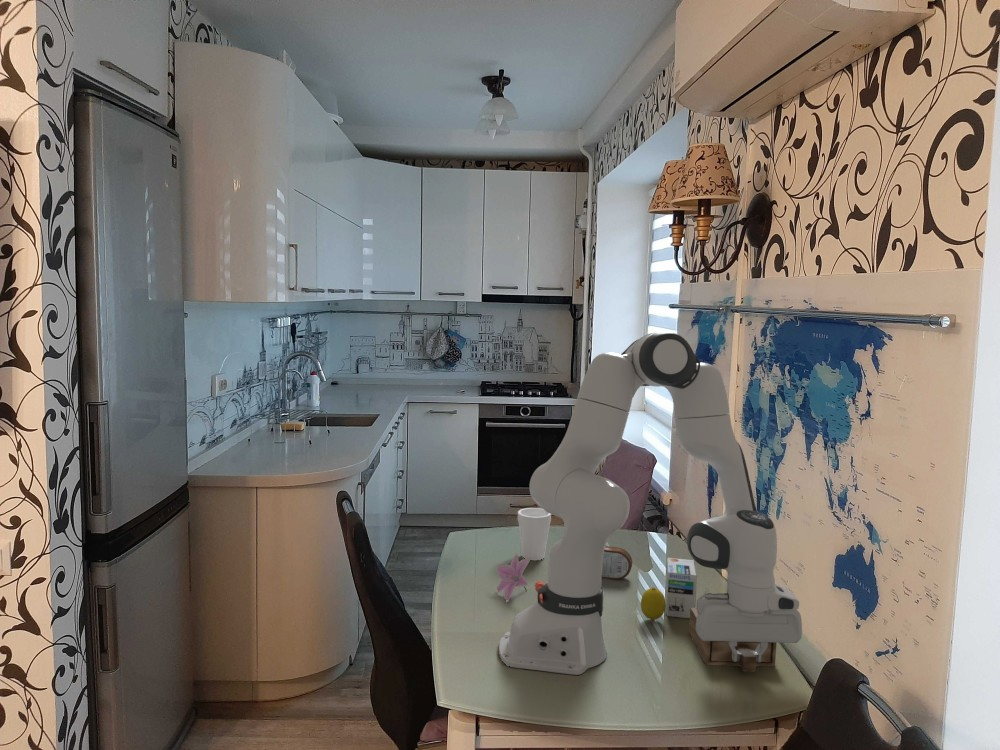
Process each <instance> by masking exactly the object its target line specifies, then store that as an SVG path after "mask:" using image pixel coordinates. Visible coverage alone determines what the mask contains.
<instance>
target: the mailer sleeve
mask: <svg viewBox="0 0 1000 750" xmlns="http://www.w3.org/2000/svg"><path fill="white" fill-rule="evenodd" d="M697 614H698V612H697V607H695V608H690V618H689V629H688V634H689V636H690V637H691V639H693V640H692V641H693V643H694V646H695V647H696V649H697V651H698V653H699V654H700V656H701V658H702V659H703V660H702V661H703V662H704V664H705V665H706V666H734V667H735V666H739V667H740V665H739V664H738V662H734V661H711V659H710V642H711V641H703V640H702V639H701V638H700V637H699V636H698V634H697V632H696V620H697ZM776 654H777V643H775V642H771V659H770V662H756V667H776V660H777V659H776Z"/></svg>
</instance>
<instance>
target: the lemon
mask: <svg viewBox="0 0 1000 750" xmlns="http://www.w3.org/2000/svg"><path fill="white" fill-rule="evenodd" d="M640 608H641V612H642V614H643V615H644V616H645V617H646V618H647V619H649V620H650V621H651V622H654V621H655V620H658V619H660V618H661V617H663V615H664V614H665V611H666V597H665V596H664V594H663V592H661V590H659V589H658V588H656V587H651V588H648V589H647V590H645V591H644V592H643V594H642V596H641V599H640Z"/></svg>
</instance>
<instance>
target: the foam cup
mask: <svg viewBox="0 0 1000 750" xmlns="http://www.w3.org/2000/svg"><path fill="white" fill-rule="evenodd" d="M517 522H518V528H519V538H520V548H521V549H520V550H521V555H522V556H523V557H524V558H531V560H539V561H542V560H544V559H545V554H546V549H547V543H548V537H549V531H550V526H551V525H550V524H551V522H552V514H550V513H548V512H546V511H545V510H544V509H543V508H541V507H526V508H525V507H524V508H522V509H519V510H517ZM522 556H521V557H522ZM523 557H522V558H523ZM524 558H523V559H524ZM543 558H544V559H543ZM541 559H542V560H541Z"/></svg>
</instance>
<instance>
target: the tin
mask: <svg viewBox="0 0 1000 750" xmlns="http://www.w3.org/2000/svg"><path fill="white" fill-rule="evenodd" d="M632 567H633V558H632V557H631V555H630V553H629V552H628V551H627V550H626V549H624V548H623V547H617V546H610V545H606V547H605V550H604V554H603V562H602V577H601V579H607V580H614V581H615V580H616V581H618V580H623V579H625V578H626V577H628V576H629V574H630V573H631V570H632Z"/></svg>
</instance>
